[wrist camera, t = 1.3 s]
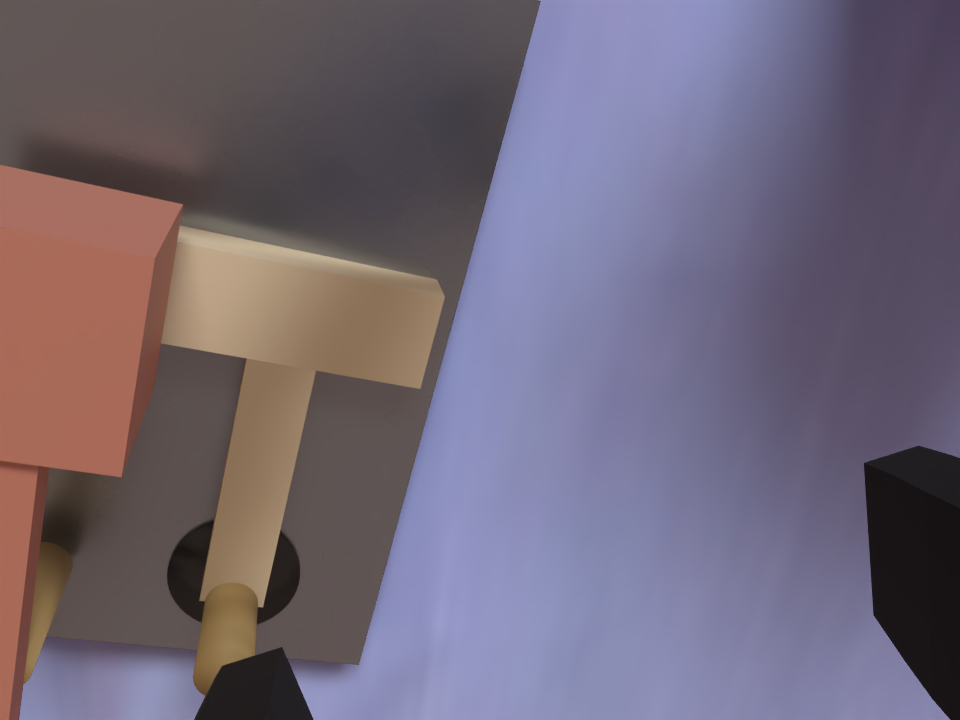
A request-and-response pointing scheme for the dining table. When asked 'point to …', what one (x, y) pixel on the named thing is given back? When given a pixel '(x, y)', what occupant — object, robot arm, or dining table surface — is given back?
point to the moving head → (68, 371)
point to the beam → (280, 390)
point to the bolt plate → (271, 220)
